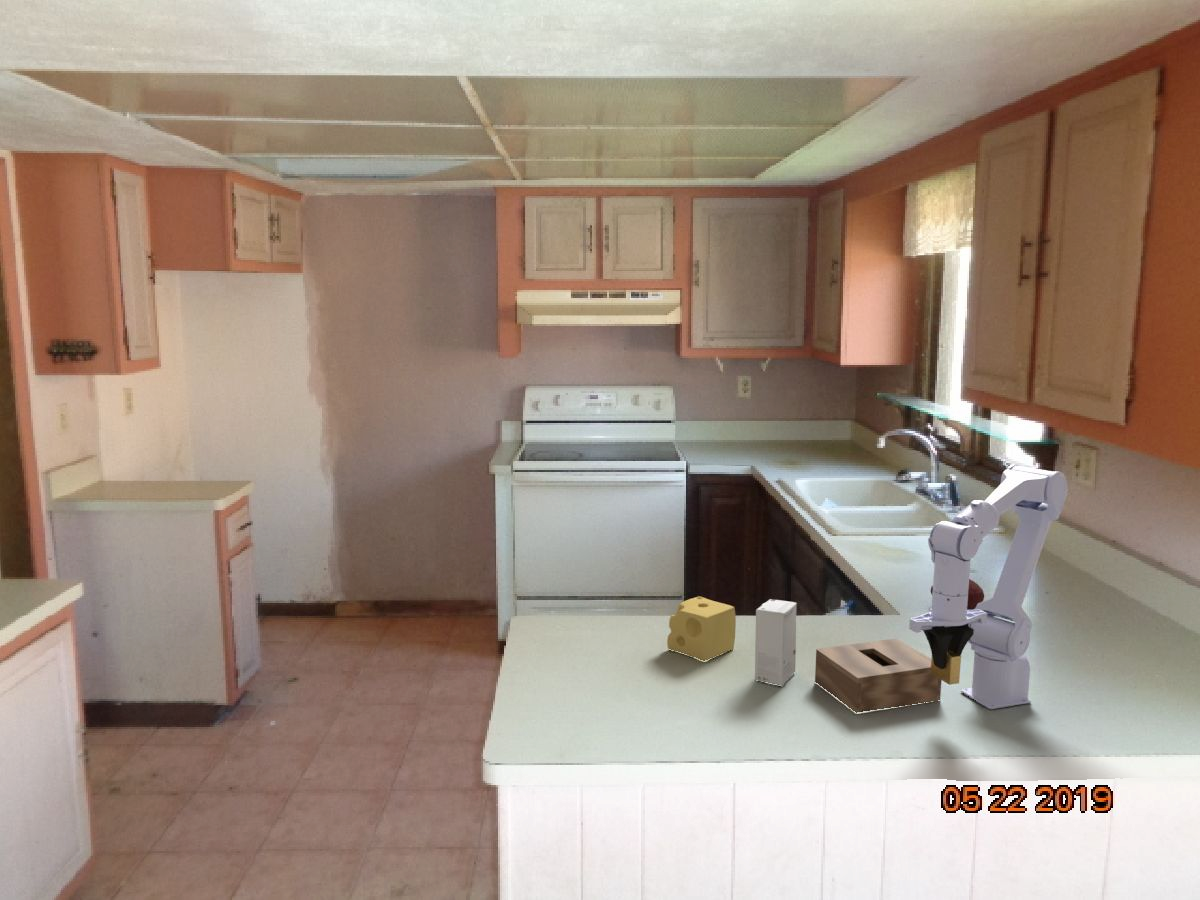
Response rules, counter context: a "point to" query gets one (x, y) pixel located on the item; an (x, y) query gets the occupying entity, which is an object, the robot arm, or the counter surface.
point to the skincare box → (775, 641)
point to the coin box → (877, 675)
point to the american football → (972, 595)
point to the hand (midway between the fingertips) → (945, 665)
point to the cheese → (702, 628)
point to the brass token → (948, 668)
